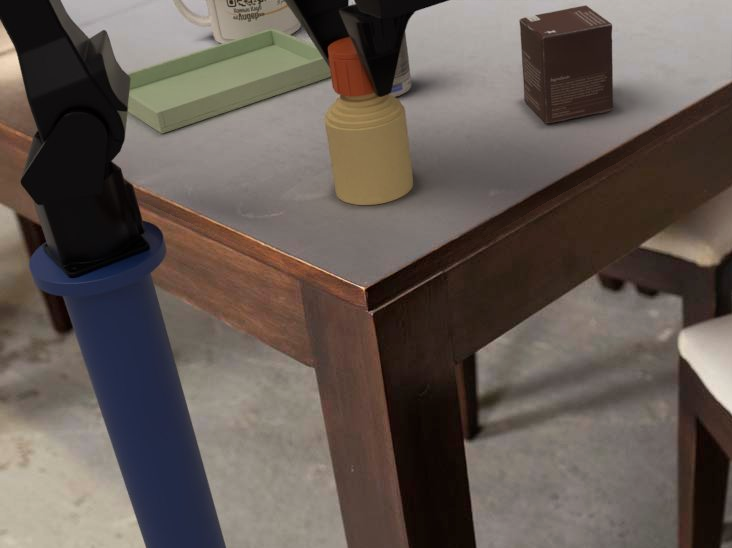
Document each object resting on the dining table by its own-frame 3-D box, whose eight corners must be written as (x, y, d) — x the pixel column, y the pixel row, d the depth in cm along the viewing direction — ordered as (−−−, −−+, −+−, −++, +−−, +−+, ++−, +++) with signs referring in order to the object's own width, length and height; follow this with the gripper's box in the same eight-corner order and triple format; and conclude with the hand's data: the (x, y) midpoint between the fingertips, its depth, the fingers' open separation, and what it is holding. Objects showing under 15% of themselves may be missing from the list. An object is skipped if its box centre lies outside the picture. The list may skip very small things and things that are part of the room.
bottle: (377, 212, 82) (358, 73, 76) (319, 195, 85) (297, 61, 79) (429, 180, 85) (415, 45, 79) (372, 165, 89) (354, 35, 83)
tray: (161, 134, 100) (156, 112, 99) (109, 99, 109) (104, 80, 108) (339, 74, 107) (336, 53, 106) (276, 46, 117) (273, 27, 116)
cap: (374, 72, 83) (369, 31, 81) (396, 87, 79) (391, 44, 78) (326, 85, 81) (319, 44, 80) (346, 101, 78) (339, 58, 77)
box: (614, 112, 91) (614, 23, 87) (544, 126, 91) (541, 37, 87) (589, 88, 96) (587, 3, 92) (522, 101, 96) (518, 16, 92)
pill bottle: (413, 79, 104) (403, -12, 99) (409, 97, 100) (399, 3, 95) (363, 83, 104) (351, -7, 100) (357, 102, 100) (344, 8, 96)
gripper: (520, -162, 68) (531, 83, 77) (359, -180, 82) (384, 31, 90) (370, -123, 64) (400, 132, 73) (226, -148, 77) (266, 70, 86)
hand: (363, 86), depth 80 cm, fingers open, 5 cm apart
